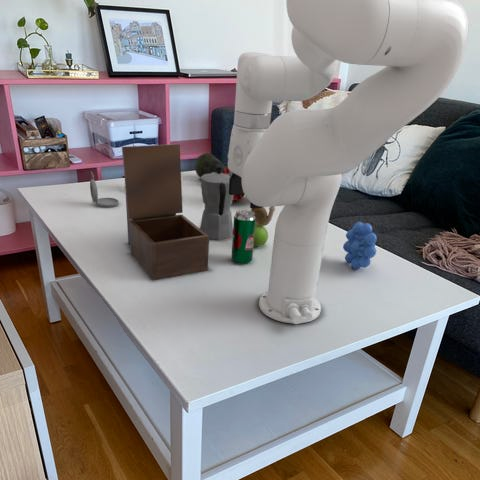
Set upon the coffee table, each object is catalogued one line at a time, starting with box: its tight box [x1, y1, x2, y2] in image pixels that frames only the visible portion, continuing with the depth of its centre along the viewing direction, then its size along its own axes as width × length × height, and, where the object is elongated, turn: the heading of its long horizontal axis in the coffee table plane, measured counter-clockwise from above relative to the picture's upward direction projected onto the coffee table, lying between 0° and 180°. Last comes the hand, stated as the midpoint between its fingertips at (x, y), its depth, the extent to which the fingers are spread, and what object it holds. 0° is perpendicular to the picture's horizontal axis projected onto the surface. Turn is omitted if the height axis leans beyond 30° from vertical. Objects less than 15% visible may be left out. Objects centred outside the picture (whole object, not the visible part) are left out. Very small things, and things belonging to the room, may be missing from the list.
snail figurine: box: [250, 206, 276, 247], centre depth 123 cm, size 5×6×12 cm
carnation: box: [194, 152, 245, 203], centre depth 159 cm, size 16×18×35 cm
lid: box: [121, 143, 184, 219], centre depth 113 cm, size 16×13×5 cm
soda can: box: [230, 209, 256, 265], centre depth 114 cm, size 5×5×12 cm
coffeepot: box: [199, 166, 234, 241], centre depth 125 cm, size 15×9×18 cm, turn 10°
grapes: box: [342, 221, 378, 271], centre depth 115 cm, size 12×7×12 cm, turn 19°
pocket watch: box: [89, 170, 119, 208], centre depth 142 cm, size 8×8×10 cm
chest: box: [129, 213, 210, 281], centre depth 112 cm, size 15×13×8 cm
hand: (245, 200), depth 110 cm, fingers open, 9 cm apart
